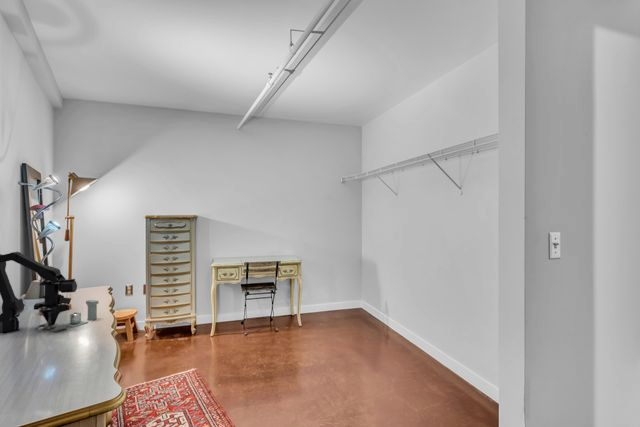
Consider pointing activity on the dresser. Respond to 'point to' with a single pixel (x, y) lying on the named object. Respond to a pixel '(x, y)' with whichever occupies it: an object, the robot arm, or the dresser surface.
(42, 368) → the dresser surface
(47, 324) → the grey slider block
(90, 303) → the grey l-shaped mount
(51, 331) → the rail
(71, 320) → the silver bell
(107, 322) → the dresser surface
